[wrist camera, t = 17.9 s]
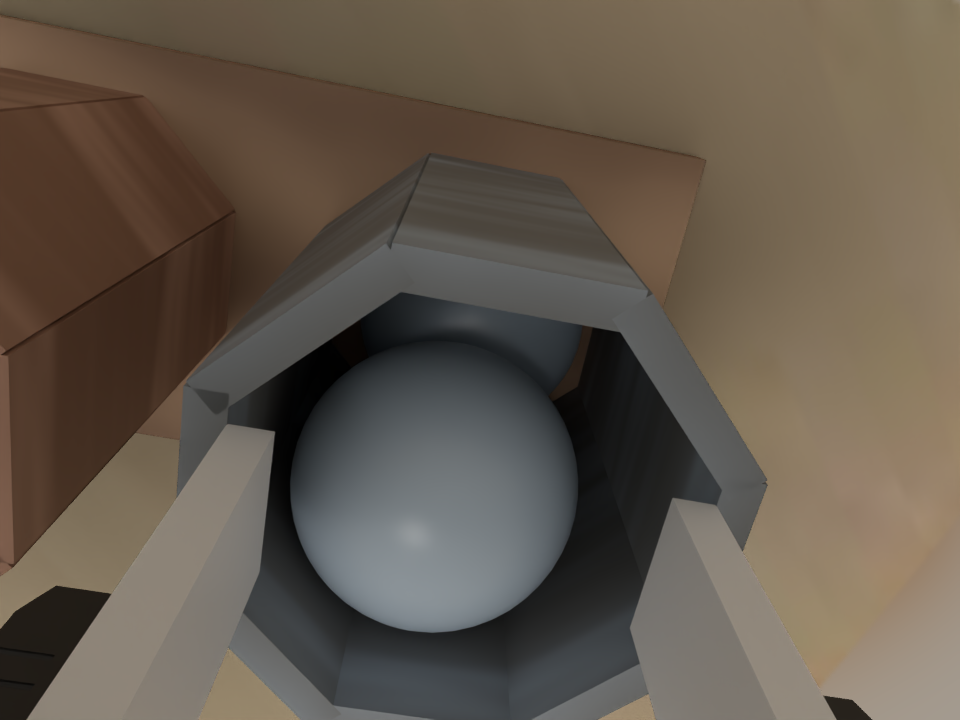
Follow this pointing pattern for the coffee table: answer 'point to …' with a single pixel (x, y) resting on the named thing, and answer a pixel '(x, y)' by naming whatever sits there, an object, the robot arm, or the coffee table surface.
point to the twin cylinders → (342, 337)
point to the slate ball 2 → (434, 486)
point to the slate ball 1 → (476, 333)
